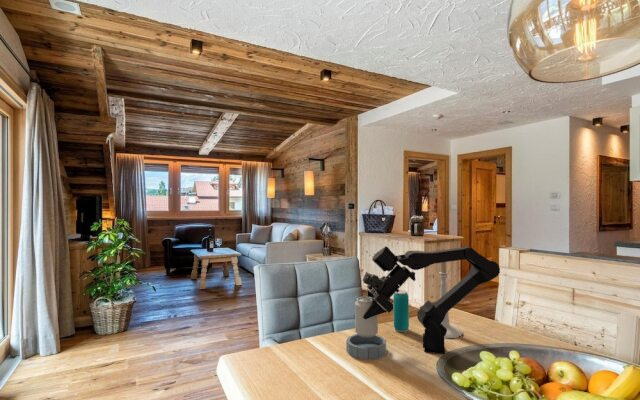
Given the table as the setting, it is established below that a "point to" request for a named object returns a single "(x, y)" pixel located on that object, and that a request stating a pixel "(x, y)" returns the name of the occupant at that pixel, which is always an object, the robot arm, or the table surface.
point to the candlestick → (451, 330)
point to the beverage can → (401, 311)
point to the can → (365, 325)
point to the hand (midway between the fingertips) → (362, 314)
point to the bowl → (366, 347)
